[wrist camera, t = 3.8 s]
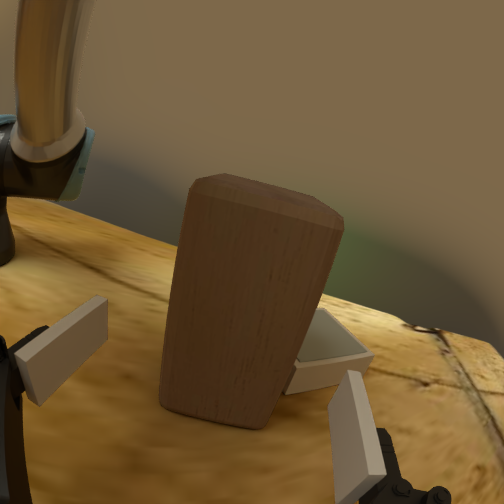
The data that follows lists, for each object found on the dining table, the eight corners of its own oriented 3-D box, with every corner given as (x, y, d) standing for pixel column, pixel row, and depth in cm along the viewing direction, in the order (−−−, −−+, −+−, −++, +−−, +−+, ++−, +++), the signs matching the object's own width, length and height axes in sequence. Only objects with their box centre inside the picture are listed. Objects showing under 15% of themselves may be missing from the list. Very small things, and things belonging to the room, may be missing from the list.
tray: (245, 332, 39) (252, 306, 37) (315, 329, 44) (324, 307, 42) (284, 395, 28) (297, 367, 27) (361, 378, 33) (375, 354, 32)
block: (264, 369, 32) (321, 198, 26) (264, 435, 22) (353, 217, 17) (180, 348, 32) (215, 170, 26) (155, 410, 22) (188, 174, 16)
